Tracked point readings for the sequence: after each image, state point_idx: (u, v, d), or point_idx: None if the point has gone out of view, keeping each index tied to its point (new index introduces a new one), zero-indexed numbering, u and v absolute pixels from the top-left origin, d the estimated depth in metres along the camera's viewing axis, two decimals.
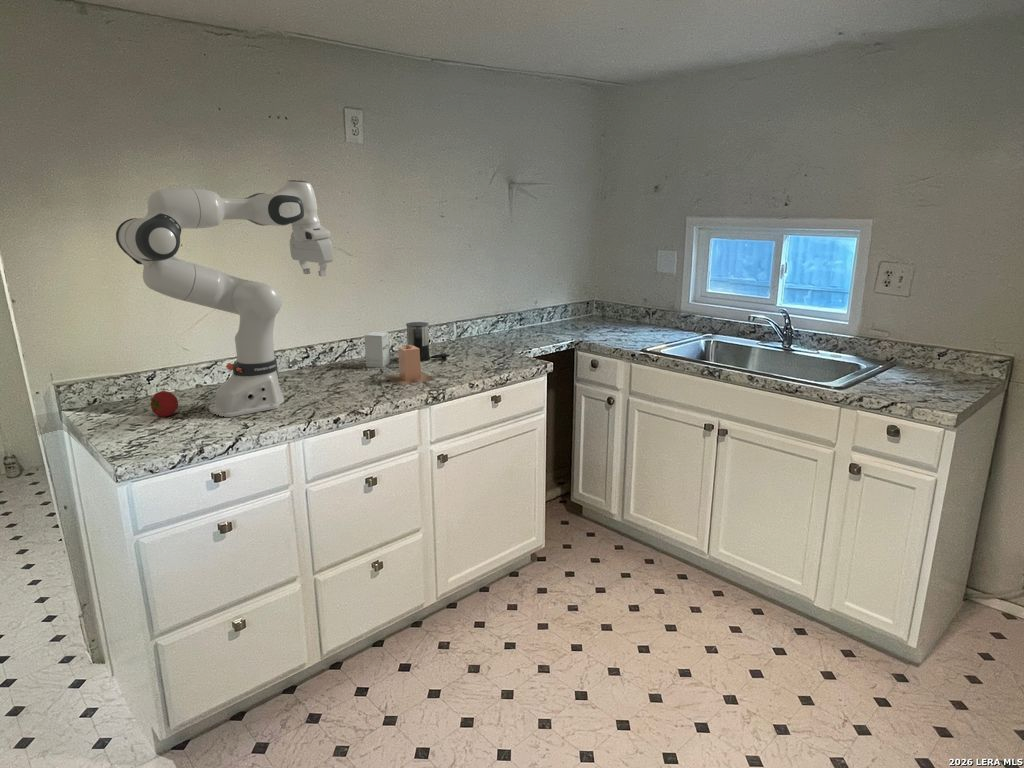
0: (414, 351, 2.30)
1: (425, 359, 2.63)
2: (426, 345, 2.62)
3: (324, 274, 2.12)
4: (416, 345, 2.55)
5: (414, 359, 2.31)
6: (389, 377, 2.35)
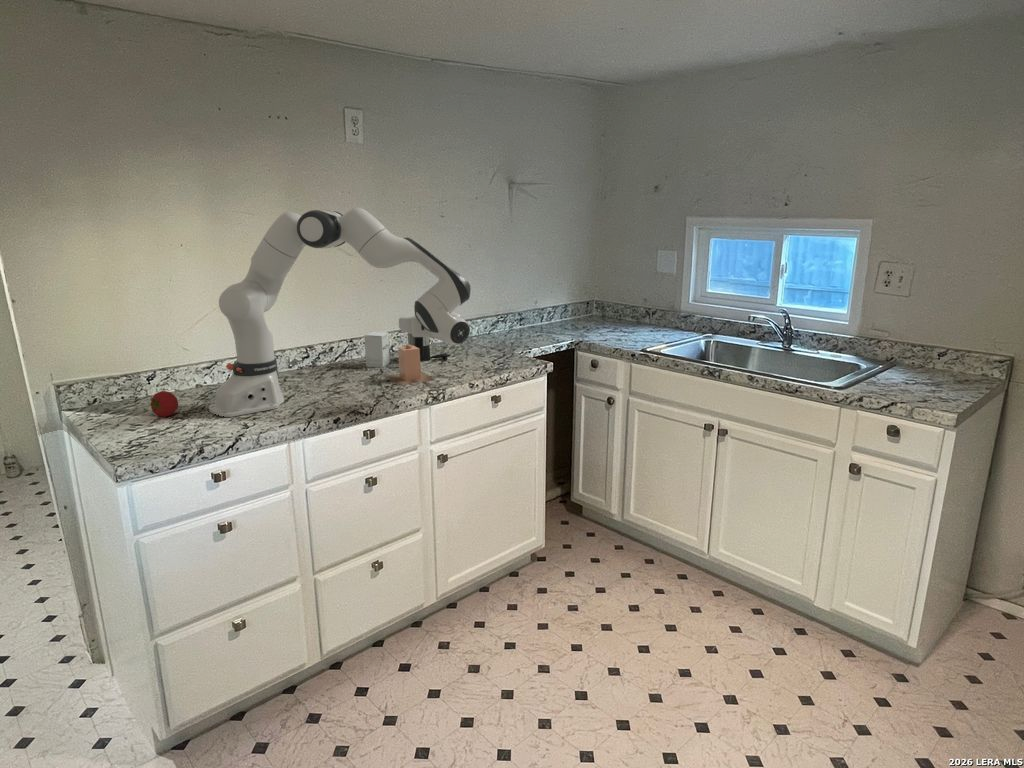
0: (414, 351, 2.30)
1: (426, 359, 2.63)
2: (427, 345, 2.62)
3: None
4: (417, 345, 2.55)
5: (414, 359, 2.31)
6: (389, 377, 2.35)
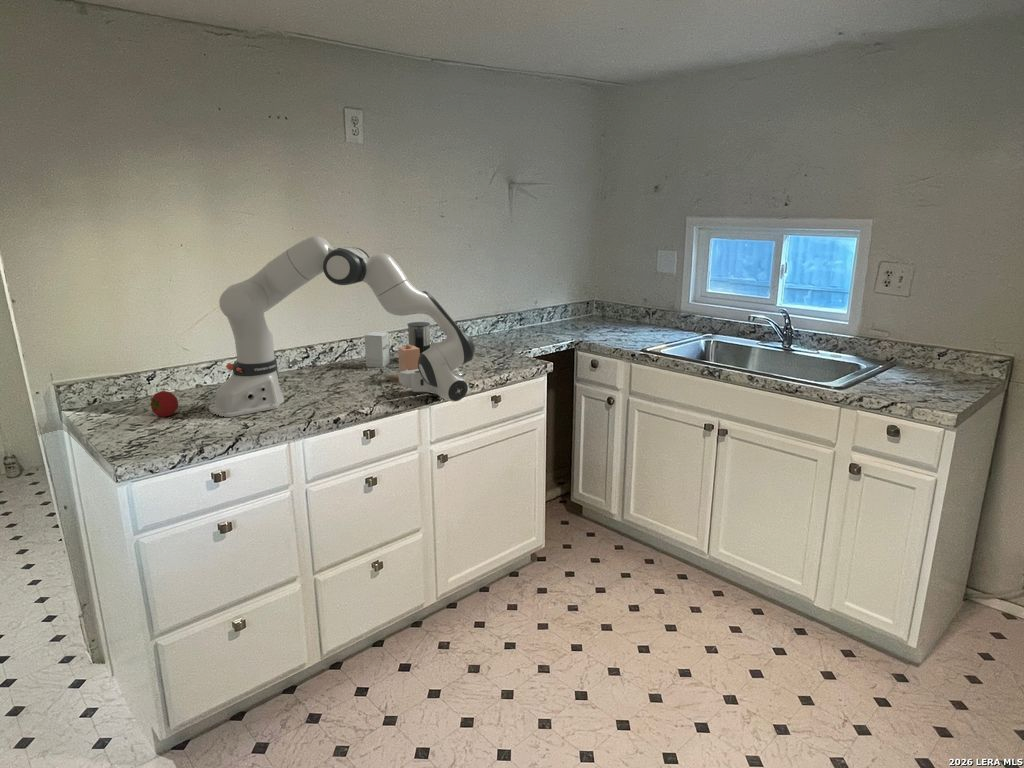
0: (414, 351, 2.30)
1: None
2: (427, 345, 2.62)
3: None
4: (417, 345, 2.55)
5: (414, 359, 2.31)
6: (389, 377, 2.35)
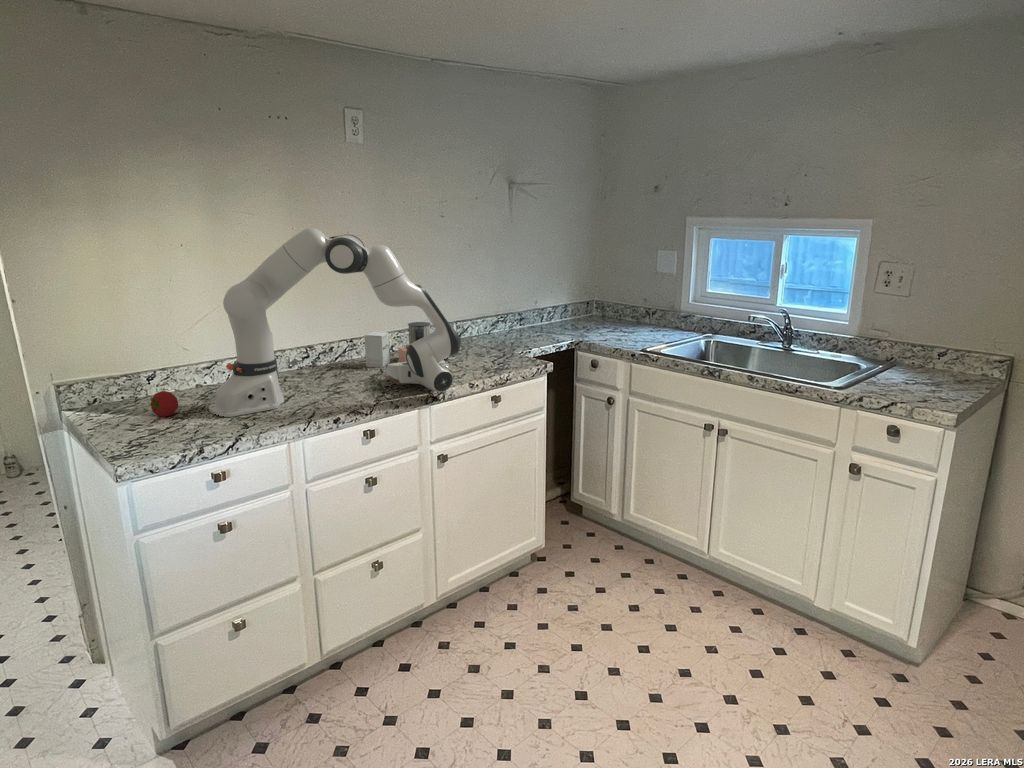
0: None
1: None
2: None
3: None
4: None
5: None
6: (389, 377, 2.35)
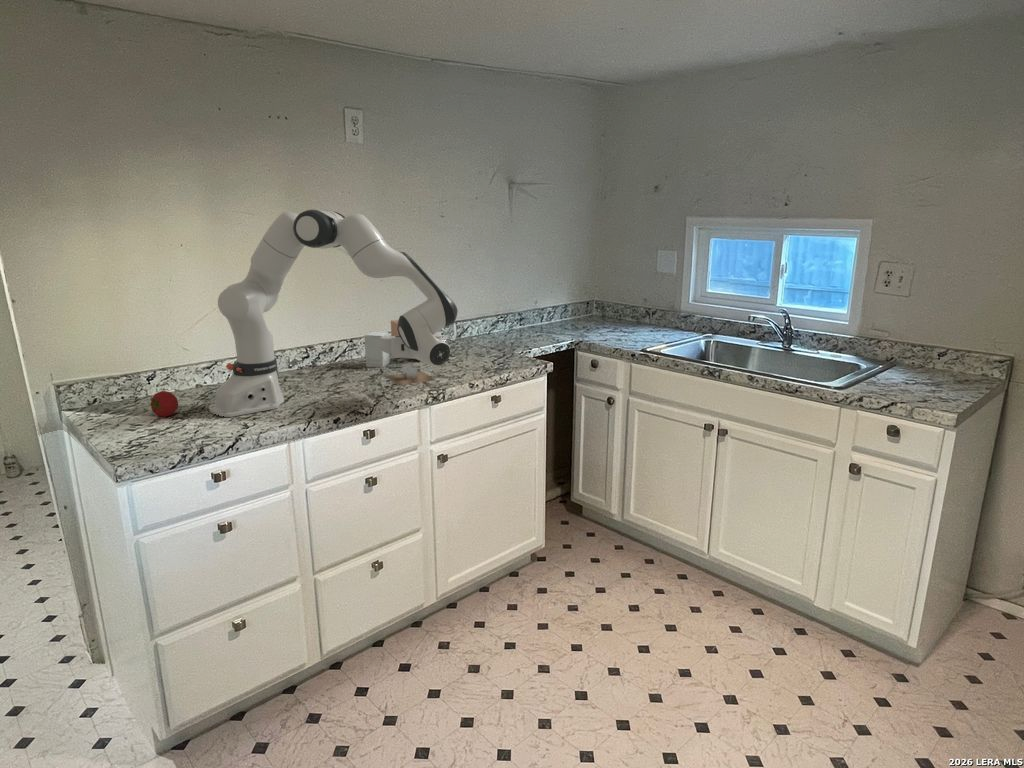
0: None
1: None
2: None
3: None
4: None
5: None
6: (389, 377, 2.35)
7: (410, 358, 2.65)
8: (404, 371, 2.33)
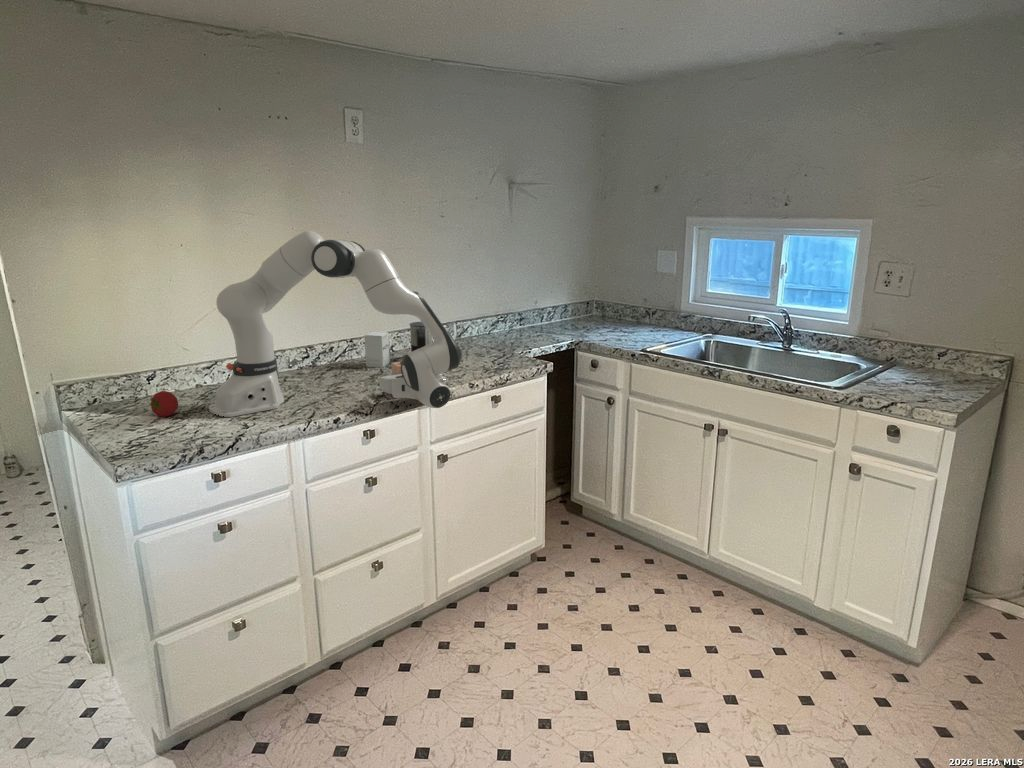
0: None
1: None
2: None
3: None
4: (419, 345, 2.56)
5: None
6: None
7: None
8: None
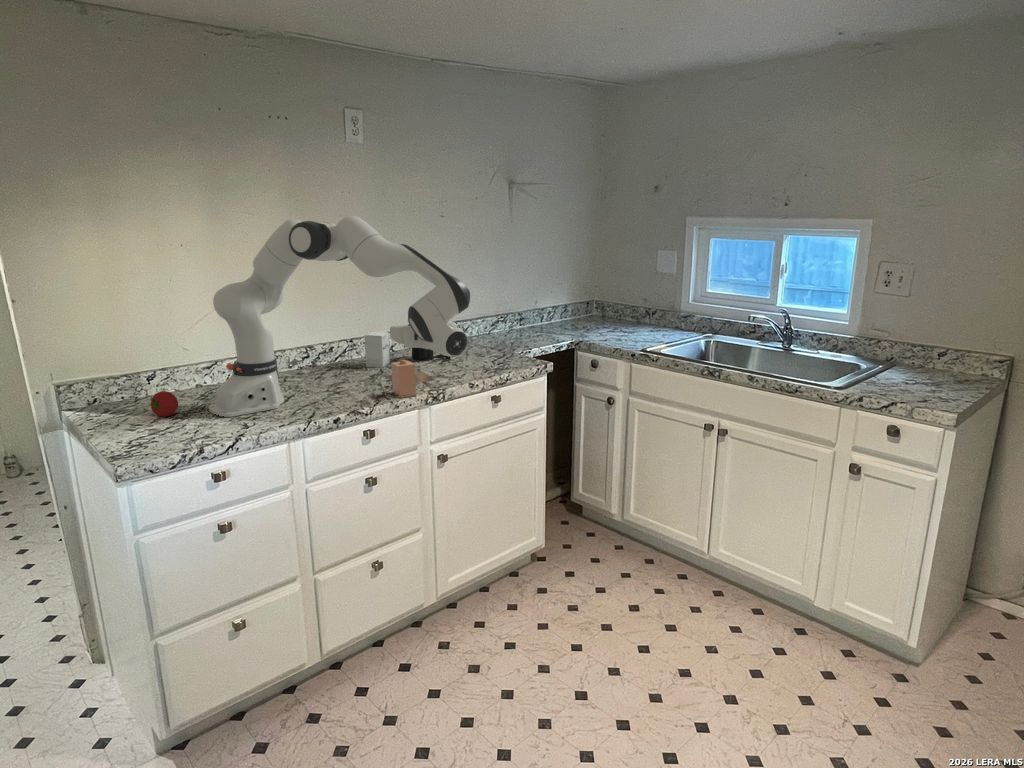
0: (409, 367, 2.13)
1: (429, 359, 2.63)
2: None
3: None
4: None
5: (409, 375, 2.13)
6: (389, 377, 2.35)
7: (412, 358, 2.65)
8: None
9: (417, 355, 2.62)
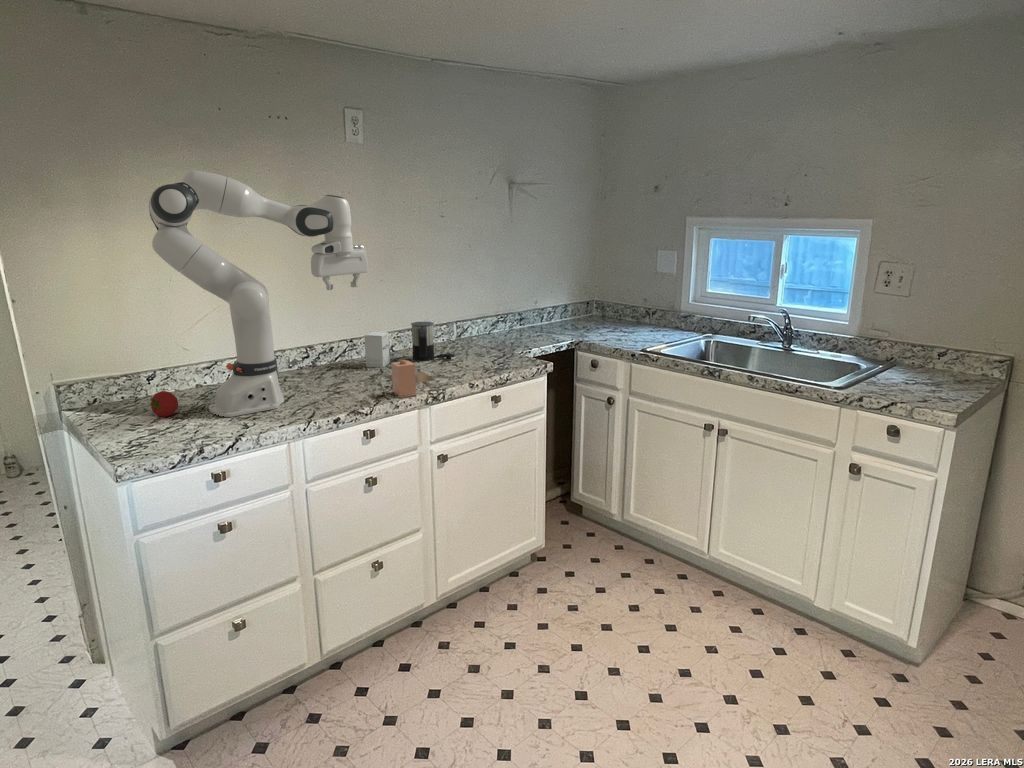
0: (409, 367, 2.13)
1: (430, 359, 2.63)
2: (431, 345, 2.63)
3: (328, 288, 2.14)
4: (420, 345, 2.56)
5: (409, 375, 2.13)
6: (389, 377, 2.35)
7: (412, 358, 2.65)
8: None
9: (418, 355, 2.62)
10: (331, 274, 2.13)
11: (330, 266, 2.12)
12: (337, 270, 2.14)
